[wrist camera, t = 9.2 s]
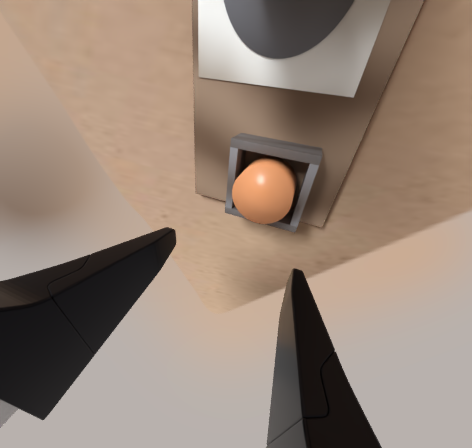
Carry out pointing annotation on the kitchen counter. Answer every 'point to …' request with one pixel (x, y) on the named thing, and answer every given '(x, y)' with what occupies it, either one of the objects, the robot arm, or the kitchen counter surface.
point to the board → (290, 90)
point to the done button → (265, 190)
